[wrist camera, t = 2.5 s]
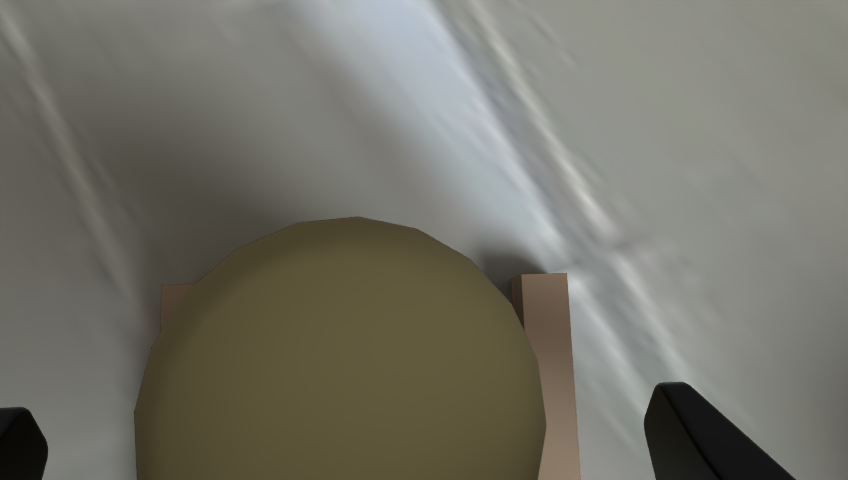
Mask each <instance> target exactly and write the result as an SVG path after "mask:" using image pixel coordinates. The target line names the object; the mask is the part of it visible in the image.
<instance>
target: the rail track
mask: <svg viewBox="0 0 848 480" xmlns="http://www.w3.org/2000/svg"><path fill="white" fill-rule="evenodd" d="M194 285H195V284H175V285H162V294H161V329H160V333H161V332H162V330H163V328H164V327H165V325H166V324H167V322H168V321H169V319H170V317H171V316H172V314H173V313H174V311H175V309H176V308H177V306H178V305H179V303H180V302H181V300H182V298H183V297H184V295H185V294H186V292H187V291H188V290H189V289H191V288H192V287H193V286H194ZM511 288H512V306H513V308H514V310H515V312H516V314H517V317H518V319H519V321H520V323H521V325H522V327H523V329H524V332H525V334H526V336H527V338H528V340H529V342H530V344H531V346H532V349H533V351H534V353H535V355H536V357H537V359H538V364H539V372H540V379H541V386H542V394H543V401H544V408H545V415H546V423H547V425H546V434H545V440H544V446H543V452H542V458H541V464H540V470H539V476H538V480H581V475H580V461H579V446H578V431H577V416H576V401H575V386H574V372H573V357H572V342H571V327H570V312H569V297H568V282H567V273H553V274H521V275H519V276H517V277H515V278H513V279H511Z"/></svg>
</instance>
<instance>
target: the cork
mask: <svg viewBox="0 0 848 480" xmlns="http://www.w3.org/2000/svg"><path fill="white" fill-rule="evenodd" d="M134 423H135V445H136V467H137V480H538V476H539V470H540V464H541V458H542V452H543V446H544V440H545V434H546V425H547V423H546V415H545V408H544V401H543V394H542V386H541V379H540V372H539V364H538V359H537V357H536V355H535V353H534V351H533V349H532V346H531V344H530V342H529V340H528V338H527V336H526V334H525V332H524V329H523V327H522V325H521V323H520V321H519V319H518V317H517V314H516V312H515V310H514V308H513V306H512V304H511V303H510V302H509V300H508V299H507V298H506V297H505V296H504V295H503V294H502V293H501V292H500V291H499V290H498V289H497V288H496V286H495V285H494V284H493V283H492V282H491V281H490V280H489V279H488V278H487V277H486V276H485V275H484V273H483V272H482V271H481V270H480V269H479V268H478V267H477V266H476V265H475V264H474V263H473V262H472V260H471V259H469V258H468V257H466V256H464V255H462V254H461V253H459V252H457V251H455V250H454V249H452V248H450V247H448V246H447V245H445V244H443V243H441V242H440V241H438V240H436V239H434V238H432V237H431V236H429V235H427V234H425V233H424V232H422V231H420V230H418V229H415V228H410V227H406V226H401V225H396V224H391V223H387V222H382V221H377V220H372V219H367V218H363V217H349V218H339V219H330V220H320V221H310V222H300V223H296V224H294V225H291V226H289V227H287V228H284V229H282V230H280V231H277V232H275V233H273V234H270V235H268V236H266V237H263V238H261V239H259V240H256V241H254V242H252V243H249V244H247V245H245V246H242V247H240V248H238V249H236V250H235V251H234V252H233V253H232V254H230V255H229V256H228V257H227V258H226V259H224V260H223V261H222V262H221V263H220V264H219V265H217V266H216V267H215V268H214V269H213V270H212V271H210V272H209V273H208V274H207V275H206V276H205V277H203V278H202V279H201V280H200V281H199V282H198V283H196V284H195V285H194V286H193V287H192V288H191V289H189V290H188V291H187V292H186V294H185V295H184V297H183V298H182V300H181V302H180V303H179V305H178V306H177V308H176V309H175V311H174V313H173V314H172V316H171V317H170V319H169V321H168V322H167V324H166V325H165V327H164V328H163V330H162V332H161V333H160V335H159V336H158V338H157V340H156V341H155V343H154V344H153V346H152V347H151V351H150V355H149V358H148V362H147V366H146V370H145V373H144V377H143V381H142V384H141V388H140V392H139V396H138V399H137V403H136V407H135V411H134Z"/></svg>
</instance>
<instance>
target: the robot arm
mask: <svg viewBox="0 0 848 480" xmlns="http://www.w3.org/2000/svg"><path fill="white" fill-rule="evenodd" d="M644 430H645V436H646V440H647V444H648V448H649V452H650V457H651V461H652V465H653V469H654V473H655V478H656V480H796V479H795V478H794V477H792V476H791V475H790V474H789V473H788V472H787V471H786V470H785V469H783V468H782V467H781V466H780V465H779V464H778V463H777V462H776V461H774V460H773V459H772V458H771V457H770V456H769V455H768V454H767V453H765V452H764V451H763V450H762V449H761V448H760V447H759V446H758V445H757V444H755V443H754V442H753V441H752V440H751V439H750V438H749V437H748V436H746V435H745V434H744V433H743V432H742V431H741V430H740V429H739V428H737V427H736V426H735V425H734V424H733V423H732V422H731V421H730V420H728V419H727V418H726V417H725V416H724V415H723V414H722V413H721V412H719V411H718V410H717V409H716V408H715V407H714V406H713V405H712V404H710V403H709V402H708V401H707V400H706V399H705V398H704V397H703V396H701V395H700V394H699V393H698V392H697V391H696V390H695V389H694V388H692V387H691V386H690V385H688V384H687V383H684V382H662V383H659V384H657V385H656V386H655V388H654V391H653V394H652V397H651V400H650V403H649V406H648V409H647V412H646V414H645V418H644ZM47 457H48V445H47V441H46V439H45V437H44V435H43V434H42V432H41V430H40V428H39V427H38V425H37V423H36V421H35V419H34V418H33V416H32V414H31V412H30V411H29V410H28V409H26V408H24V407H9V408H0V480H42V477H43V473H44V469H45V466H46V462H47Z"/></svg>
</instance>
